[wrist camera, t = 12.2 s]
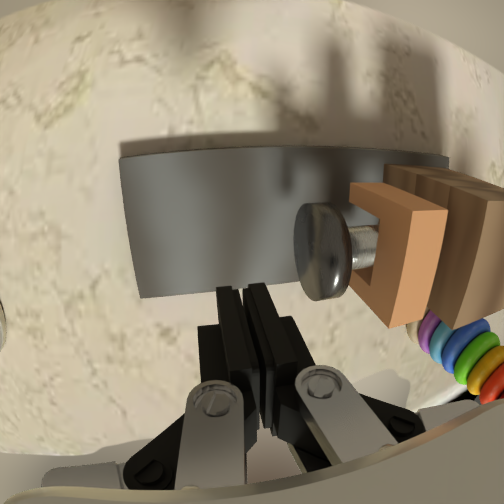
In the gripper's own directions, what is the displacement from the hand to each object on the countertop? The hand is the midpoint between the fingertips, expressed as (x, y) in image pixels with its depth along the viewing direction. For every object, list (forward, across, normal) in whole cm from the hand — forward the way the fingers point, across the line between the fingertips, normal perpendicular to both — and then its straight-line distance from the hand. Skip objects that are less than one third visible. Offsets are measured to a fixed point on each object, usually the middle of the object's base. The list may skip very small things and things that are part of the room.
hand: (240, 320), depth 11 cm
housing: (+12, -7, 0) cm, 14 cm away
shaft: (+8, -12, 0) cm, 15 cm away
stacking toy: (+12, -23, +12) cm, 29 cm away
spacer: (+8, -9, 0) cm, 12 cm away
